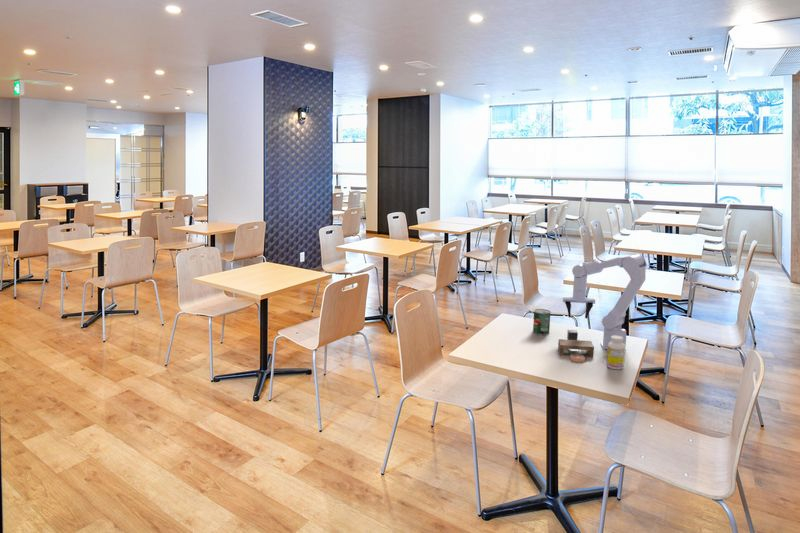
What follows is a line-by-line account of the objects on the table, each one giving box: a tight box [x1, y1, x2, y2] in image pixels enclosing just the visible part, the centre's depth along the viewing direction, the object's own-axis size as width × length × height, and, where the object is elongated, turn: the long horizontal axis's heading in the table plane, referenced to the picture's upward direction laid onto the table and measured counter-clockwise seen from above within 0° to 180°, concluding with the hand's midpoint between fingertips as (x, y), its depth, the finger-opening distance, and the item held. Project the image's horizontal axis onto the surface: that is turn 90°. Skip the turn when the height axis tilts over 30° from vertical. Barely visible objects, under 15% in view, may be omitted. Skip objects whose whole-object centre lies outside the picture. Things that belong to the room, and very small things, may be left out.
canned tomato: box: [532, 308, 552, 336], centre depth 269 cm, size 8×8×11 cm
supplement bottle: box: [606, 335, 626, 370], centre depth 224 cm, size 7×7×13 cm
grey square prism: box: [566, 329, 583, 356], centre depth 247 cm, size 5×17×6 cm, turn 170°
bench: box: [557, 338, 595, 358], centre depth 241 cm, size 14×8×5 cm, turn 79°
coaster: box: [569, 354, 586, 363], centre depth 233 cm, size 6×6×2 cm
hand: (577, 317), depth 259 cm, fingers open, 7 cm apart
